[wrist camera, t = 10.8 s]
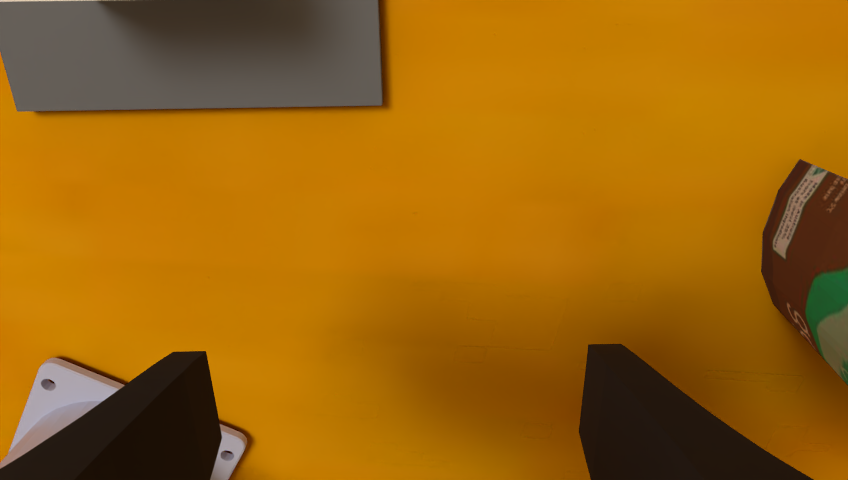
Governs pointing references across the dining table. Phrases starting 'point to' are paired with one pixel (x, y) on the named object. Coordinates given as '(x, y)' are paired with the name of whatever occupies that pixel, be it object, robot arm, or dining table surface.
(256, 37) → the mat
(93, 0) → the letter cube
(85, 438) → the robot arm
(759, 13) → the dining table surface
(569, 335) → the dining table surface
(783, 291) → the food container
